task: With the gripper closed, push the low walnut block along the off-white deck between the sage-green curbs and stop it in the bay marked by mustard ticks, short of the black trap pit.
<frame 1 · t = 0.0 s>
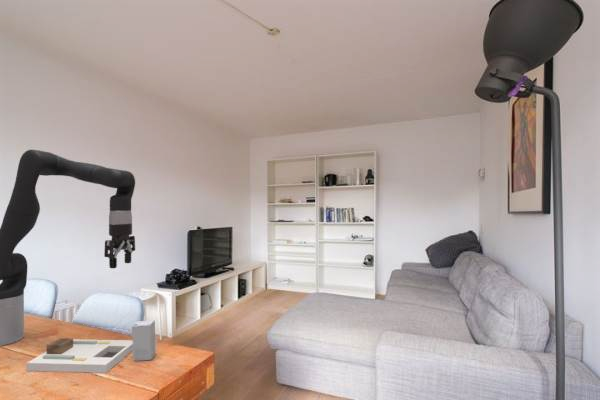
hand: (120, 265, 112), 29 cm above the table, fingers open, 8 cm apart
skincare box: (144, 358, 101), on the table
walnut block: (60, 350, 101), point 2 cm above the table, touching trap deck
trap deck: (85, 358, 101), on the table
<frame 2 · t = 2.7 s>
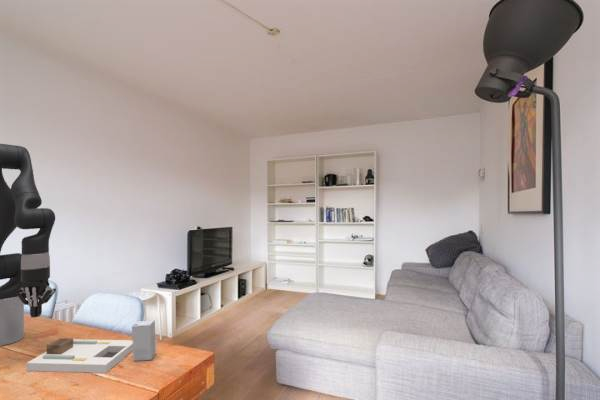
hand: (36, 316, 101), 14 cm above the table, fingers closed
nothing on the table moved.
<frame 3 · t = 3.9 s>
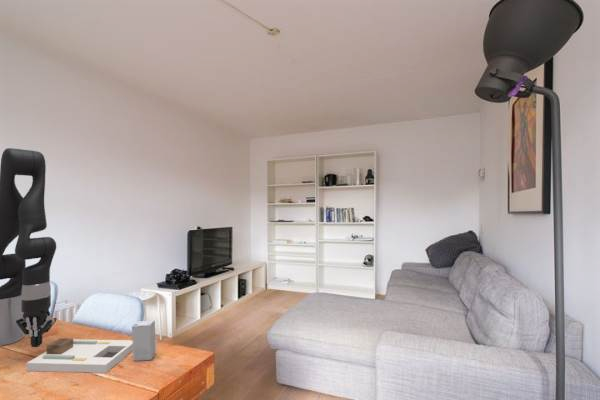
hand: (36, 346, 101), 4 cm above the table, fingers closed
nothing on the table moved.
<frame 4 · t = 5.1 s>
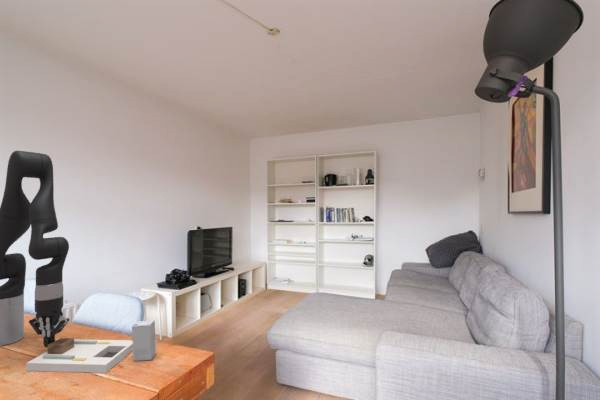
hand: (49, 346, 101), 4 cm above the table, fingers closed
walnut block: (61, 350, 101), point 3 cm above the table, touching gripper
everything else where it was.
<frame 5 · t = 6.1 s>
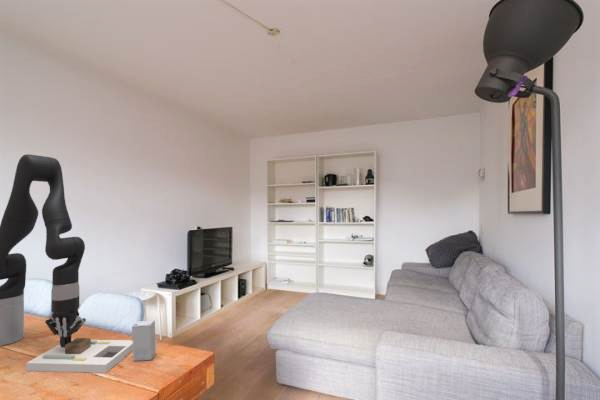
hand: (65, 346, 101), 4 cm above the table, fingers closed
walnut block: (78, 350, 101), point 3 cm above the table, touching gripper, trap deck
everything else where it was.
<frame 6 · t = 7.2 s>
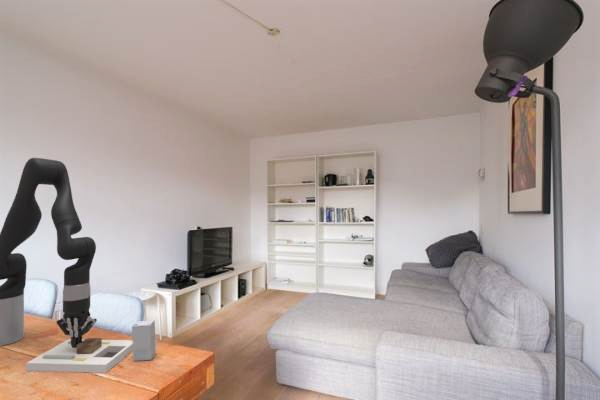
hand: (76, 346, 101), 4 cm above the table, fingers closed
walnut block: (89, 350, 101), point 2 cm above the table, touching gripper, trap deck
everything else where it was.
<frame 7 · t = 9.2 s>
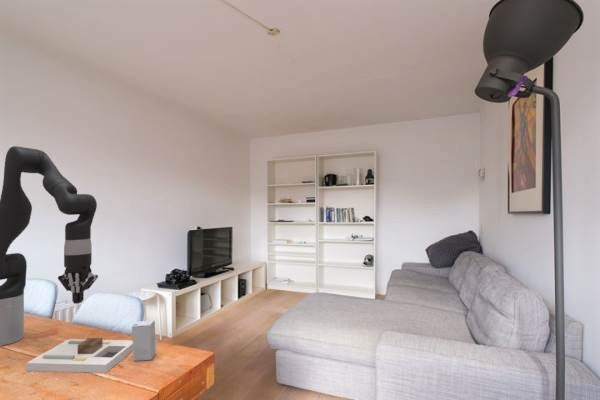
hand: (78, 302, 101), 19 cm above the table, fingers closed
walnut block: (90, 350, 101), point 2 cm above the table, touching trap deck
everything else where it was.
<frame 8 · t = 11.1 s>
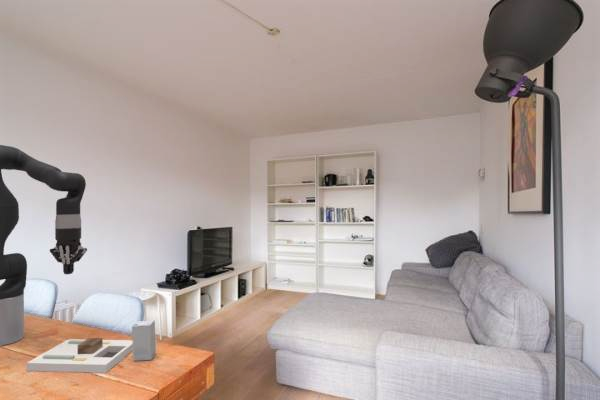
hand: (68, 273, 108), 27 cm above the table, fingers closed
nothing on the table moved.
at the end: walnut block 1.5 cm from the target spot on the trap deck, point 2.5 cm above the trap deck's base; walnut block tilted 0° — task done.
